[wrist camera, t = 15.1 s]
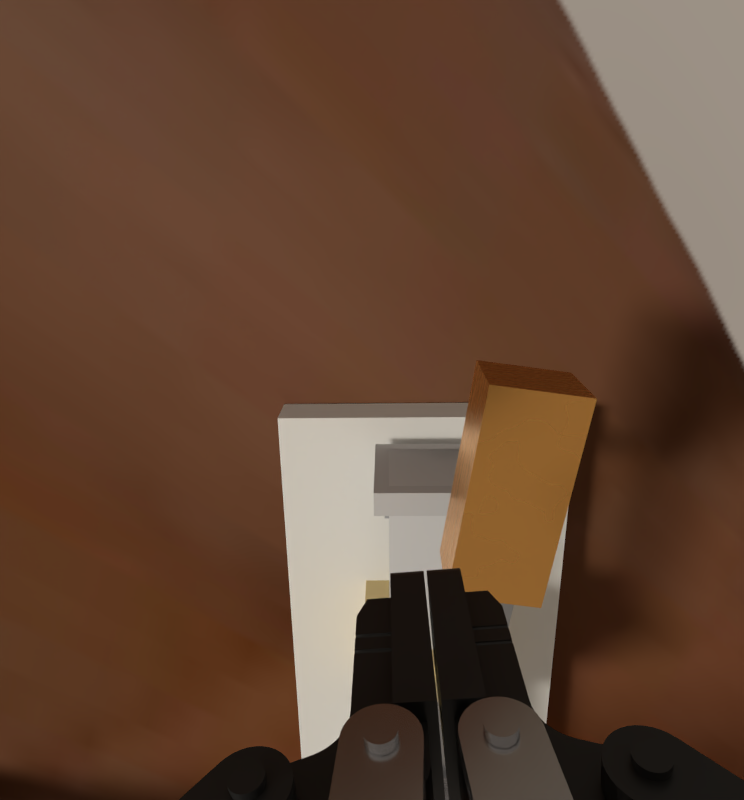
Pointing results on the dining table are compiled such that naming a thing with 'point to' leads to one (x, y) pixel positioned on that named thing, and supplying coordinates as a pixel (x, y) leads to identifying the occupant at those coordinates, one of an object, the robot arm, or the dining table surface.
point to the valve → (375, 541)
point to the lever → (514, 482)
